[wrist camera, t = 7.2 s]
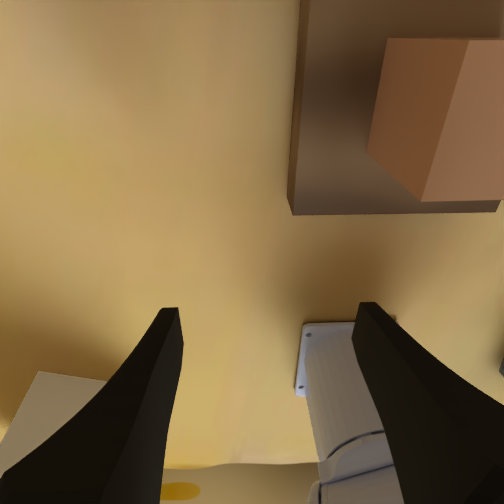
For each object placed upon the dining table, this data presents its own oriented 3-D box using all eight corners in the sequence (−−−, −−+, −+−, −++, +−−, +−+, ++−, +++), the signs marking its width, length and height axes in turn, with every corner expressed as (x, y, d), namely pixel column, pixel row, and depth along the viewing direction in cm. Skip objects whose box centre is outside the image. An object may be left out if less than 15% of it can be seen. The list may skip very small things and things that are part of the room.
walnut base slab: (470, 194, 22) (495, 212, 20) (286, 197, 21) (292, 215, 19) (567, -52, 15) (621, -66, 13) (304, -57, 14) (316, -73, 12)
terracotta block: (460, 150, 17) (552, 198, 12) (366, 152, 17) (420, 201, 12) (499, 37, 15) (637, 39, 10) (387, 37, 14) (469, 40, 9)
